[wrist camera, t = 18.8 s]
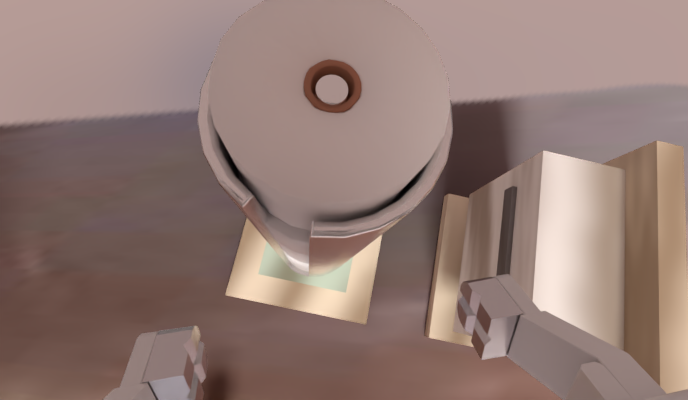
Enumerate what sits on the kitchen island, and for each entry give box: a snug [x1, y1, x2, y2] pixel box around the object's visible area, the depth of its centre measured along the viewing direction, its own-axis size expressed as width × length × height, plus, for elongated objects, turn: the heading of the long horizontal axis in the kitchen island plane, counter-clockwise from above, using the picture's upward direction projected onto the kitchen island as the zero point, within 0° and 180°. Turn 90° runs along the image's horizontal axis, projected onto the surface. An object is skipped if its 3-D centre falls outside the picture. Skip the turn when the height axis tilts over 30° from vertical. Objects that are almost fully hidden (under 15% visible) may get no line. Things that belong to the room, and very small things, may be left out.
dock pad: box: [226, 218, 382, 324], centre depth 33 cm, size 12×12×1 cm
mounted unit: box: [425, 141, 688, 394], centre depth 26 cm, size 7×13×17 cm, turn 169°
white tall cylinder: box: [197, 0, 453, 277], centre depth 20 cm, size 6×6×25 cm
